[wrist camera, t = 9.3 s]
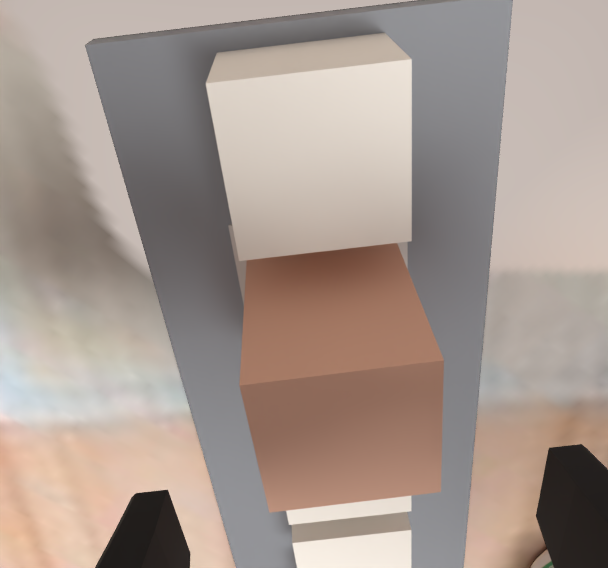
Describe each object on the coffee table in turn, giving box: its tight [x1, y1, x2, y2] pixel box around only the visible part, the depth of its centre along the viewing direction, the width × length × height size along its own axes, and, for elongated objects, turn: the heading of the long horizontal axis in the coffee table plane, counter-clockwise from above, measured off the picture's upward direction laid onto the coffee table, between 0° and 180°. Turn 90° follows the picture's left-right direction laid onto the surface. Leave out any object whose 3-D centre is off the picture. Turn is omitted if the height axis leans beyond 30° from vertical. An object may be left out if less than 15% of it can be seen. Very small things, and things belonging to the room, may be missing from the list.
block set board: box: [85, 0, 513, 568], centre depth 19 cm, size 10×25×4 cm, turn 6°
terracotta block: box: [239, 243, 444, 513], centre depth 15 cm, size 4×4×6 cm
